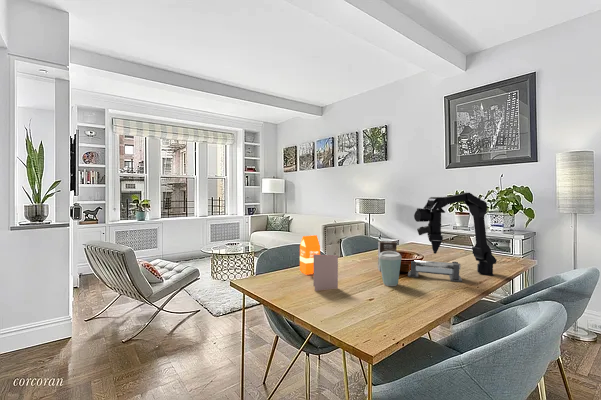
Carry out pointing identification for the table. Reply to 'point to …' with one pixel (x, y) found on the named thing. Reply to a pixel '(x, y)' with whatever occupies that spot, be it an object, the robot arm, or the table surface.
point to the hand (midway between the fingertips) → (434, 251)
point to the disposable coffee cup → (390, 267)
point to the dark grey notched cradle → (453, 277)
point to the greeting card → (325, 272)
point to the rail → (435, 264)
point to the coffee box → (385, 248)
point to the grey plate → (434, 270)
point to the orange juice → (308, 253)
